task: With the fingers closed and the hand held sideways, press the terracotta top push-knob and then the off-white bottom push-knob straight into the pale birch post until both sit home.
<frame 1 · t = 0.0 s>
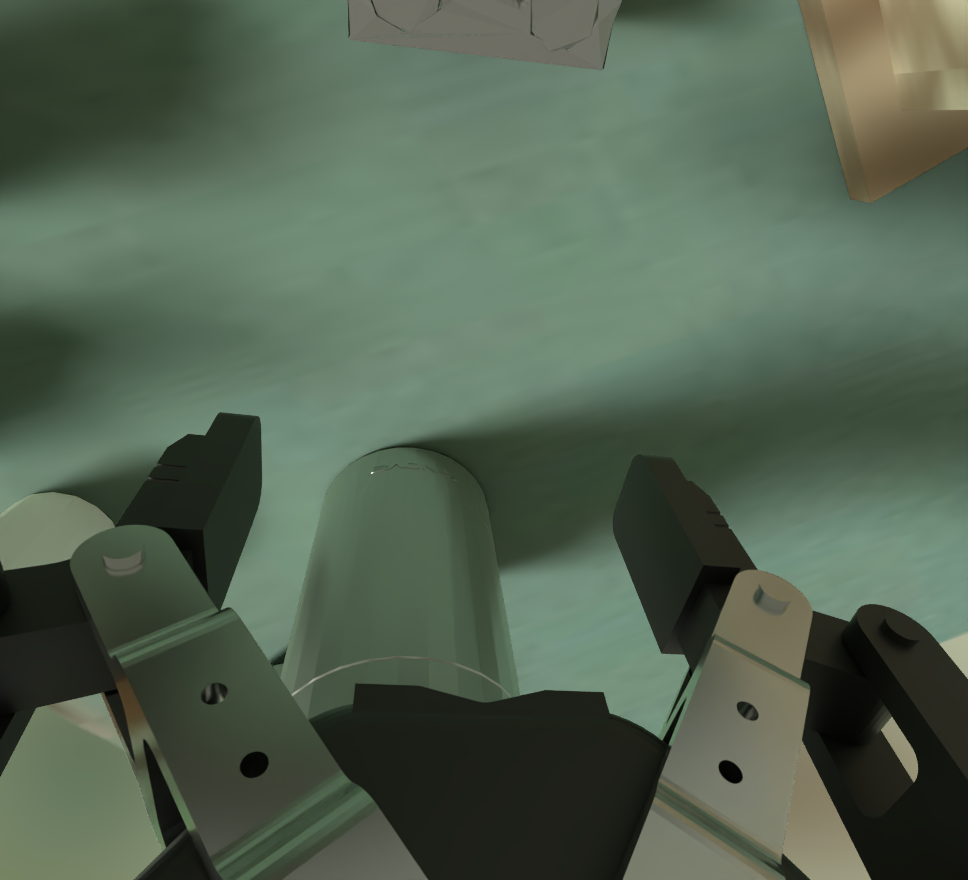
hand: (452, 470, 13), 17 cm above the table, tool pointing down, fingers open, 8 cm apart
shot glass: (65, 533, 33), on the table
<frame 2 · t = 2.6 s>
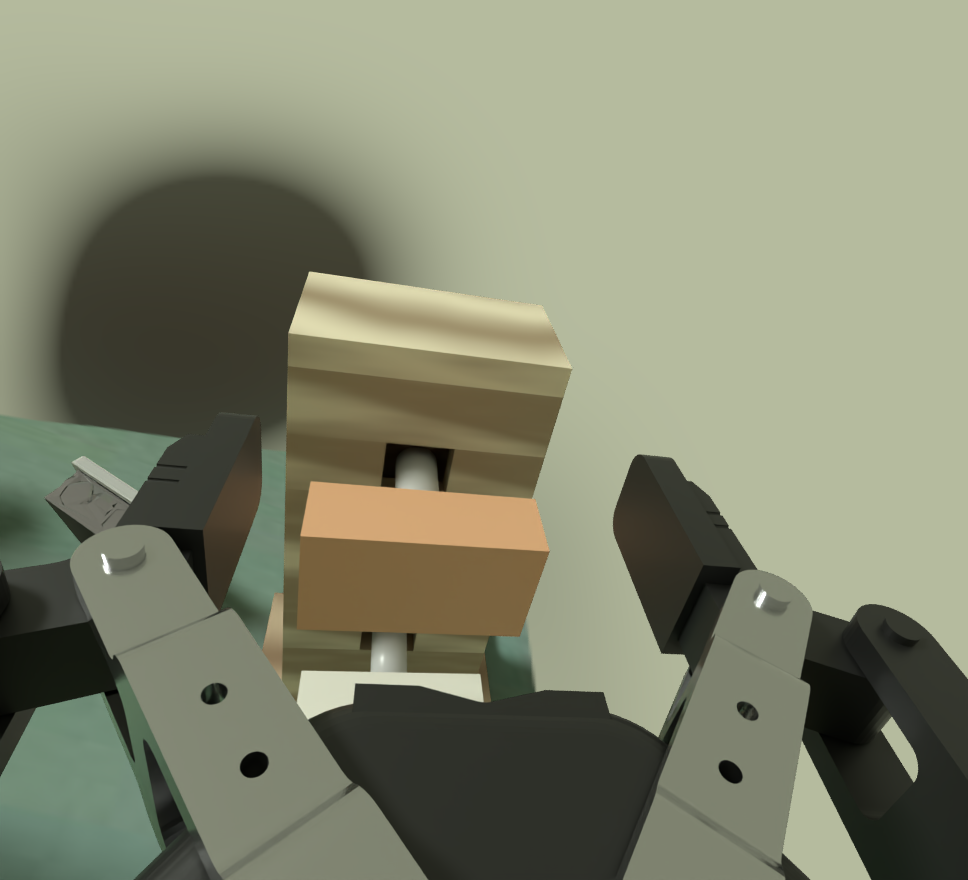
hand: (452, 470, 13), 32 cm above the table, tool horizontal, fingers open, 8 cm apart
electrical switch: (137, 573, 48), on the table
lower knob: (388, 683, 33), point 10 cm above the table, slide at 4.0 cm
knob post: (373, 714, 42), on the table
upper knob: (418, 519, 27), point 22 cm above the table, slide at 4.0 cm
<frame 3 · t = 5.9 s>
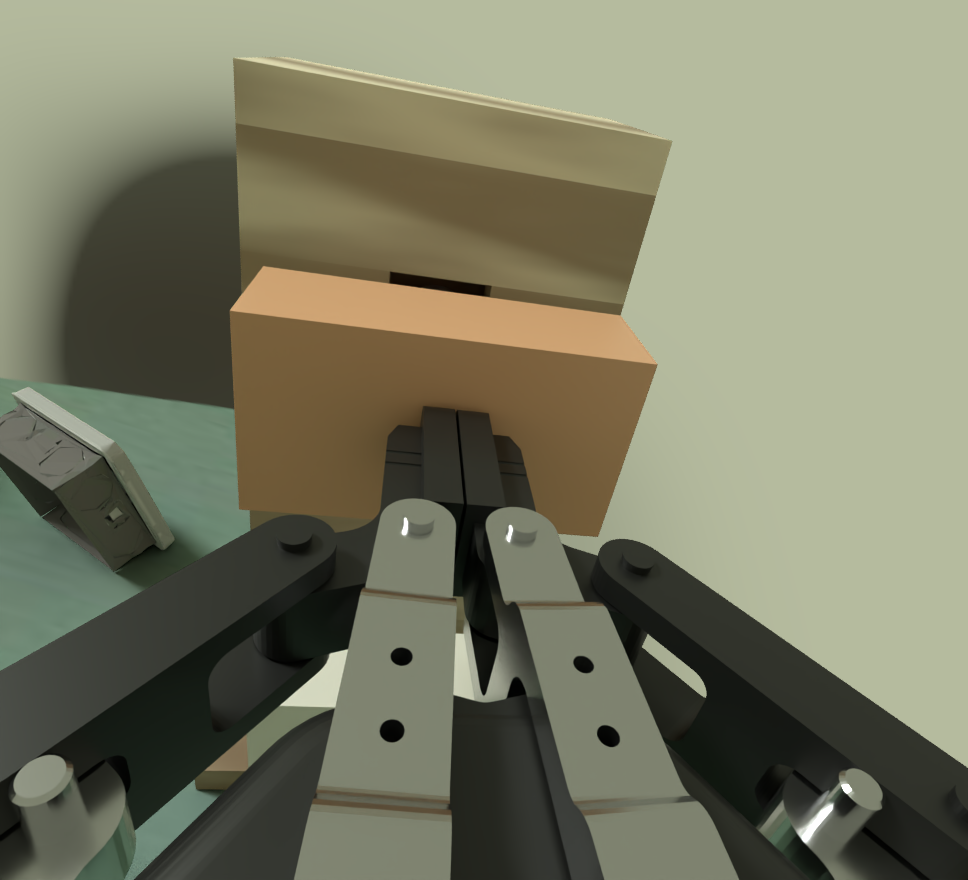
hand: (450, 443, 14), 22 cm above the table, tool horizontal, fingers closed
electrical switch: (95, 539, 39), on the table
lower knob: (396, 653, 23), point 10 cm above the table, slide at 4.0 cm
knob post: (381, 713, 32), on the table
upper knob: (436, 364, 17), point 22 cm above the table, slide at 3.6 cm, touching gripper
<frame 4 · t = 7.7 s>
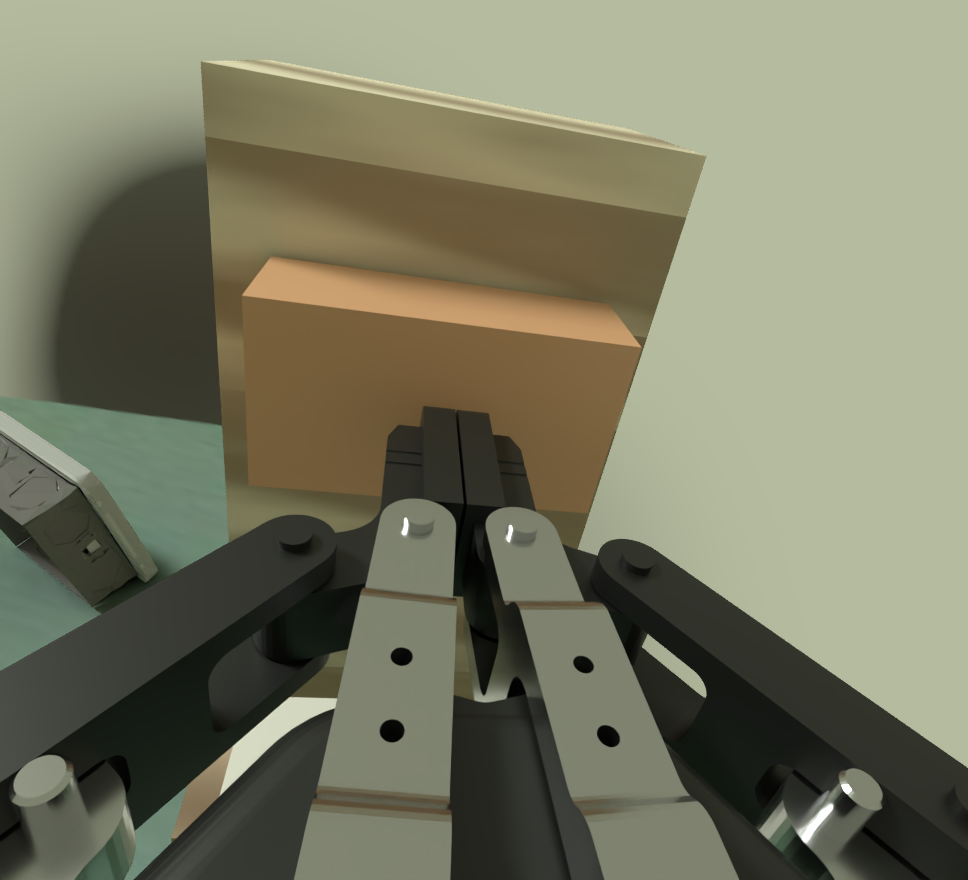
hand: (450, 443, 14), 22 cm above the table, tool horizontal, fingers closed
electrical switch: (74, 571, 37), on the table
lower knob: (392, 718, 21), point 10 cm above the table, slide at 4.0 cm
knob post: (377, 764, 30), on the table
upper knob: (434, 351, 18), point 22 cm above the table, slide at -0.1 cm
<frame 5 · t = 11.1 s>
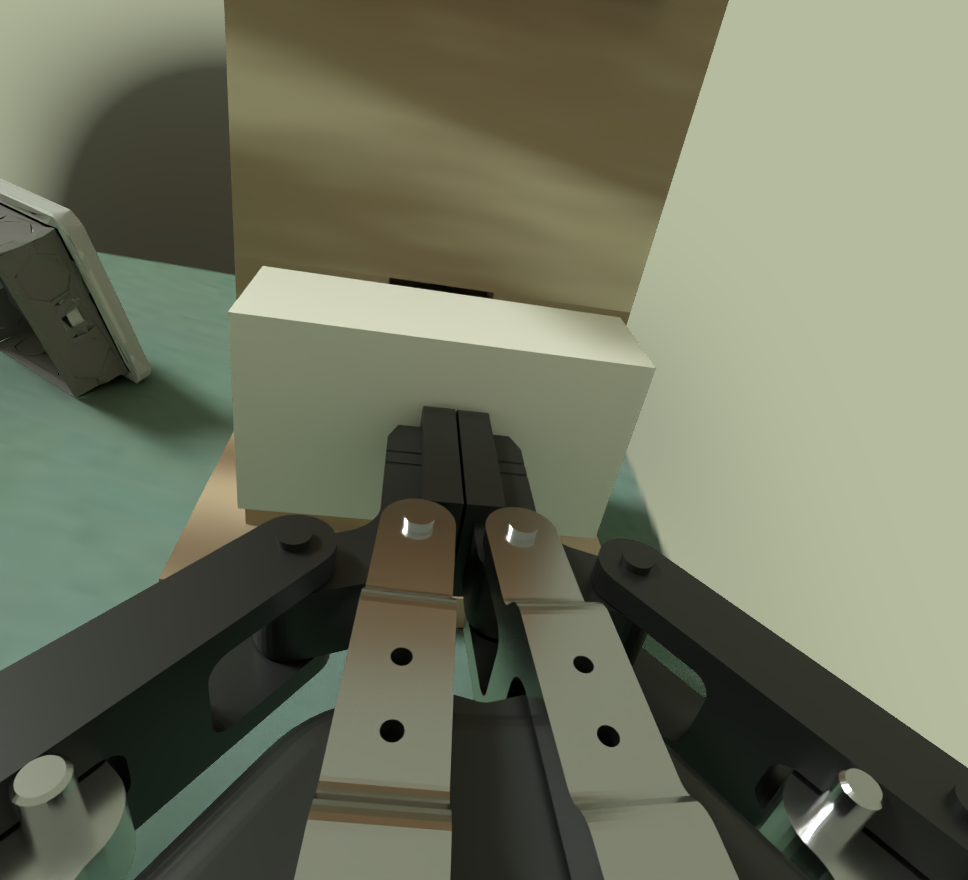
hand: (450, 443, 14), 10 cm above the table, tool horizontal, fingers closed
electrical switch: (56, 370, 33), on the table
lower knob: (436, 364, 17), point 10 cm above the table, slide at 2.9 cm, touching gripper
knob post: (403, 547, 25), on the table
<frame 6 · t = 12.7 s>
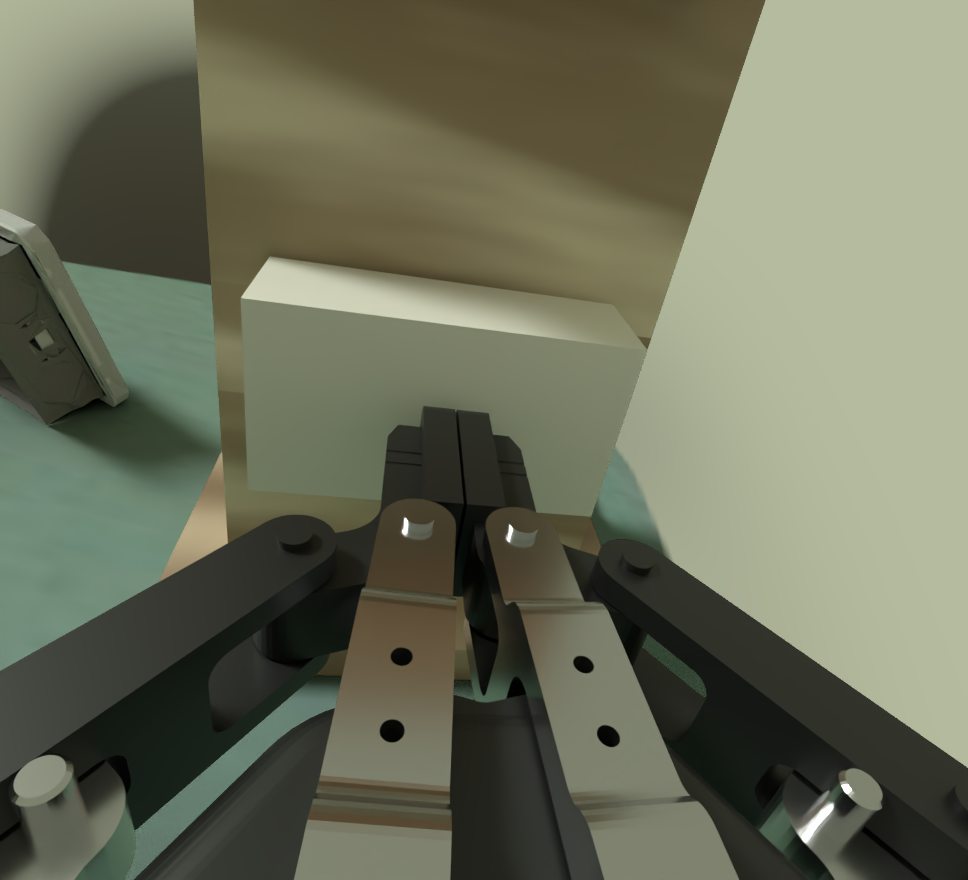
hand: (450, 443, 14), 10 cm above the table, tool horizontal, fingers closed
electrical switch: (27, 394, 30), on the table
lower knob: (436, 352, 18), point 10 cm above the table, slide at -0.1 cm
knob post: (402, 587, 23), on the table
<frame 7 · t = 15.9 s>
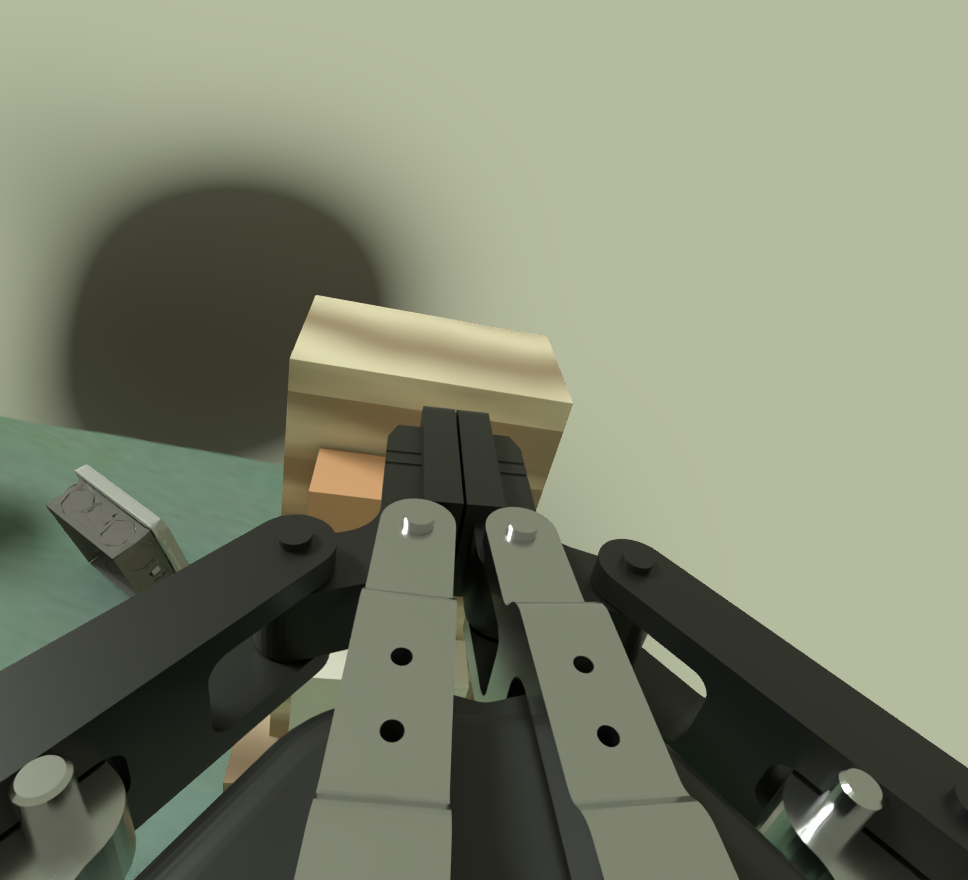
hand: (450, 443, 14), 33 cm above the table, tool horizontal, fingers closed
electrical switch: (134, 583, 48), on the table
lower knob: (381, 647, 36), point 10 cm above the table, slide at -0.1 cm
knob post: (363, 738, 42), on the table
upper knob: (413, 490, 30), point 22 cm above the table, slide at -0.1 cm
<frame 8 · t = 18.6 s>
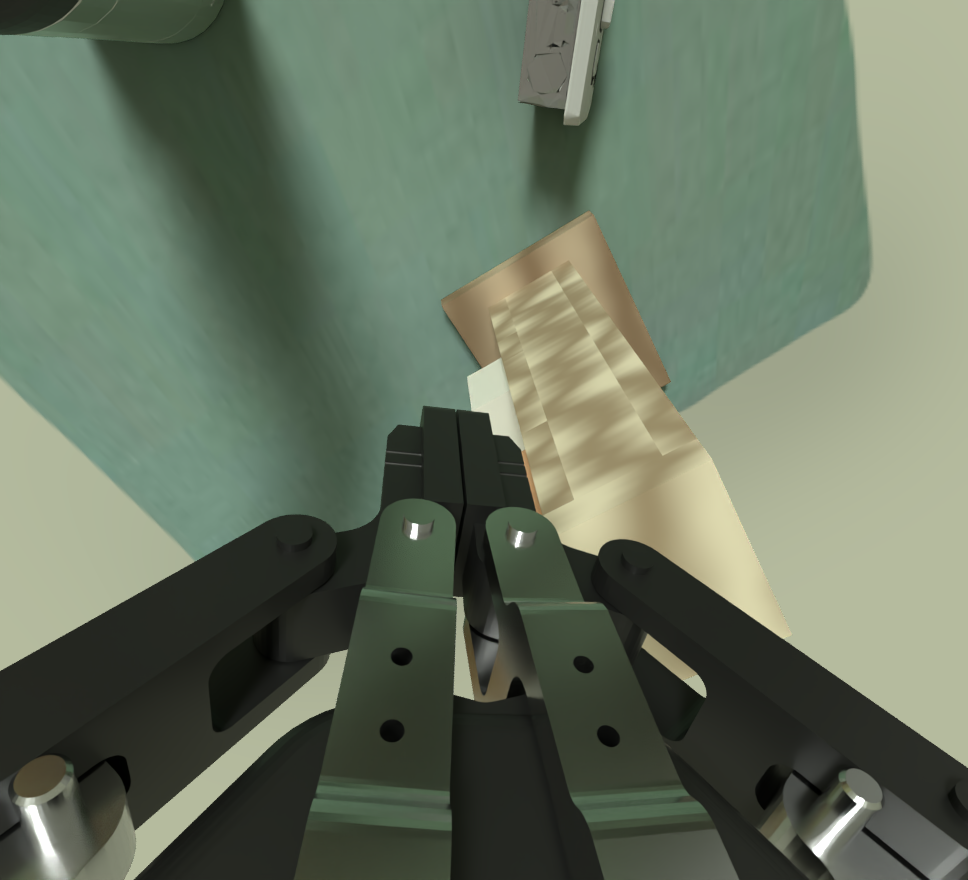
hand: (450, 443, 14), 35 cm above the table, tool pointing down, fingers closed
electrical switch: (558, 38, 40), on the table
lower knob: (551, 413, 43), point 10 cm above the table, slide at -0.1 cm
knob post: (532, 353, 51), on the table
upper knob: (591, 522, 33), point 22 cm above the table, slide at -0.1 cm
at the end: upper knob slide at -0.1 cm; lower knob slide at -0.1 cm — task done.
